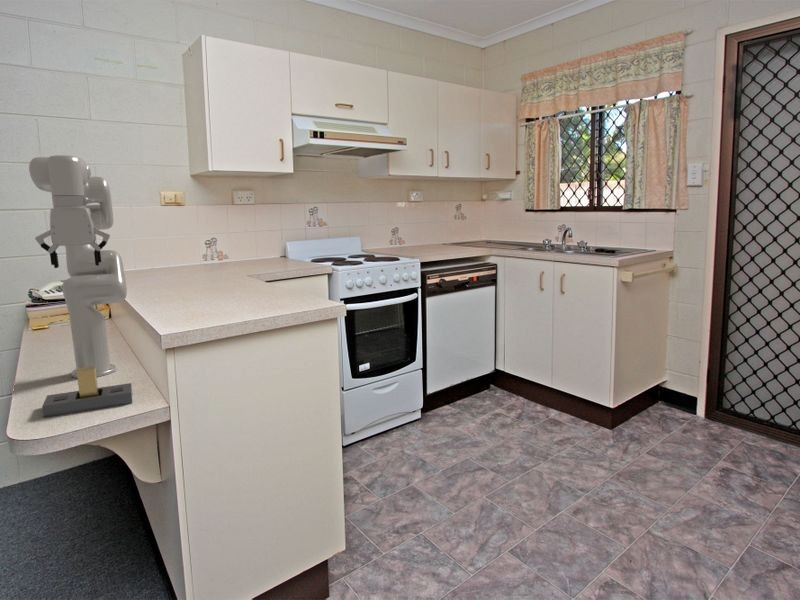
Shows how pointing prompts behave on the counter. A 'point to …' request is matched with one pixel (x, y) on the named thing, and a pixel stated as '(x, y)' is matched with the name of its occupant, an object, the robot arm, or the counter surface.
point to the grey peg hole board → (87, 400)
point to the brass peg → (87, 382)
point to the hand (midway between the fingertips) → (77, 266)
